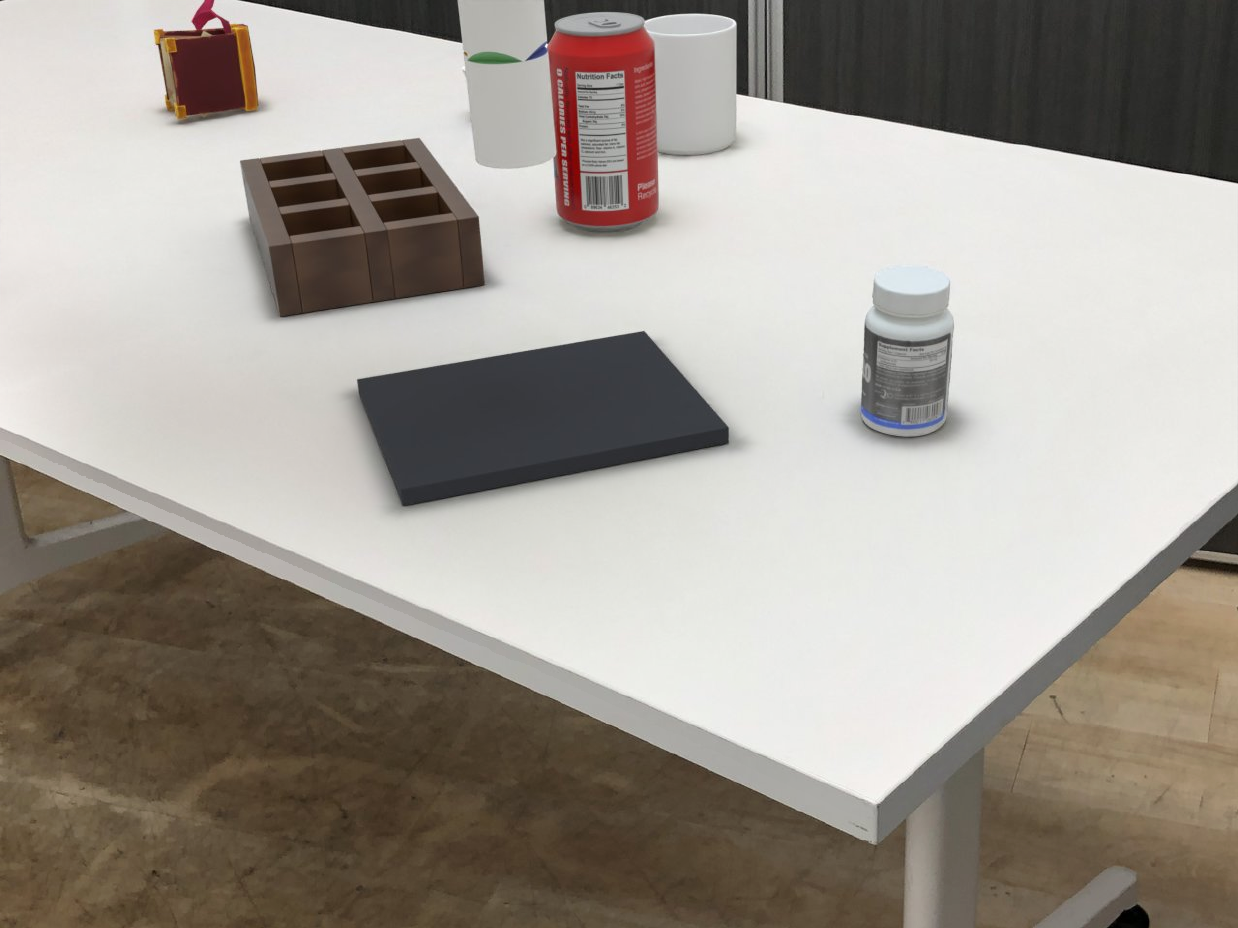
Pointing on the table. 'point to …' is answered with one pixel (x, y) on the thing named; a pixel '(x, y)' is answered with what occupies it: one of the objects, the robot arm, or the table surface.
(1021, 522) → the table surface
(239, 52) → the book monster
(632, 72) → the soda can
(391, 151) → the box
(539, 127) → the tube
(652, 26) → the mug
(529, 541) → the table surface
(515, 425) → the mat
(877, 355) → the pill bottle
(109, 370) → the table surface
